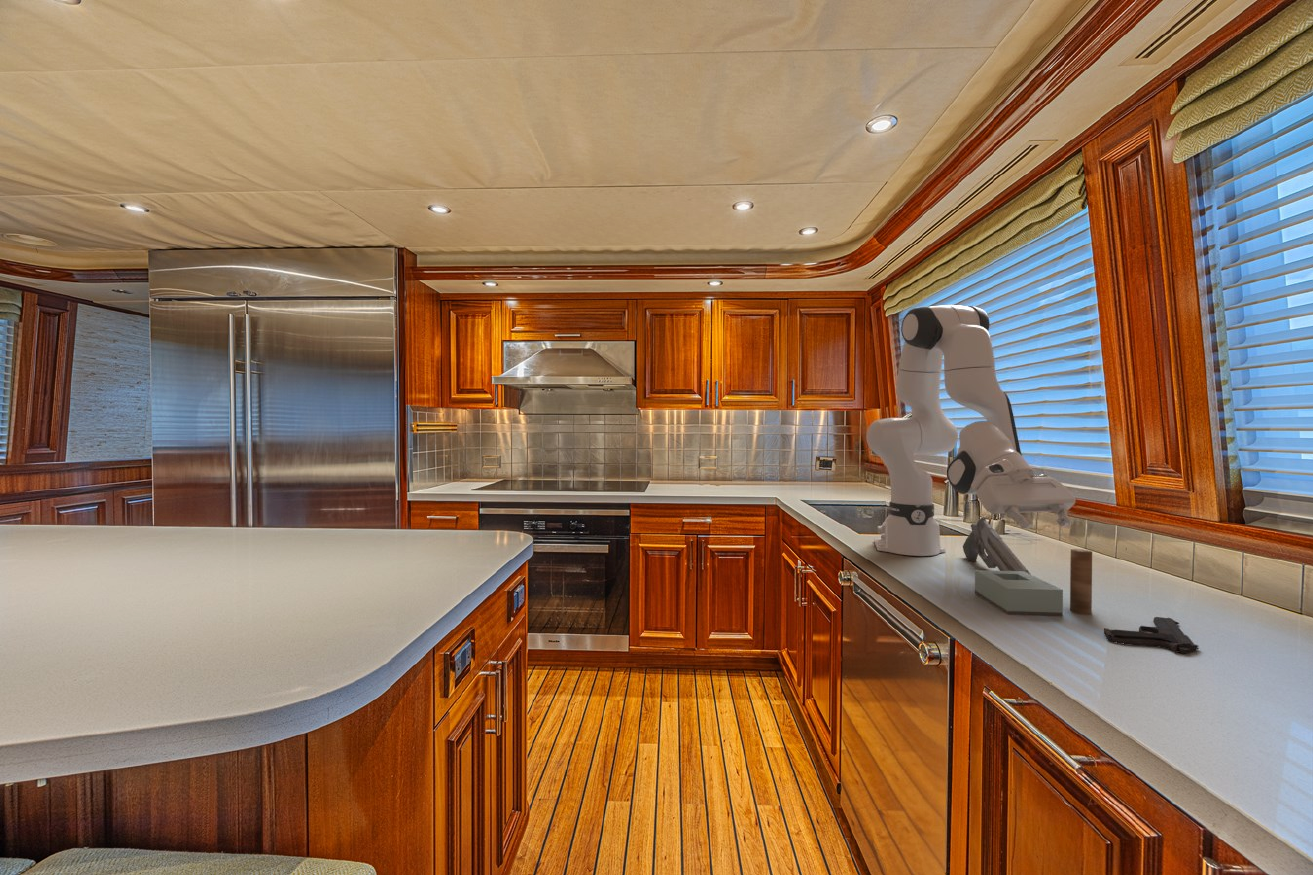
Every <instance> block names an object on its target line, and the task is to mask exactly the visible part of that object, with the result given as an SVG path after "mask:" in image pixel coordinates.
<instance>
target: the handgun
mask: <svg viewBox="0 0 1313 875" xmlns="http://www.w3.org/2000/svg"><path fill="white" fill-rule="evenodd" d="M1152 622H1153V623H1154V625H1155V626H1146V625H1140V626H1139V627H1138V630H1127V629H1126V630H1125V629H1109V628H1106V627H1105V628H1103V635H1104V634H1105V635H1104V636H1105V639H1106V640H1107V639H1108V640H1107V641H1110V640H1111V643H1112V642H1117V643H1116V644H1118V643H1124V644H1123V645H1125V644H1133V645H1132V646H1140V645H1145V646H1144V647H1156V646H1160V647H1159V648H1163V647H1165V648H1164V649H1167V648H1169V649H1168V650H1170V649H1171V650H1170V651H1172V653H1173V652H1175V653H1174V654H1177V653H1181V654H1191V653H1195V652H1196V651H1197V650H1199V649H1200V646H1199V645H1198V644H1195V643H1194V642H1193V640H1192V639H1191V638H1190V636H1188V635H1187V634H1185V633H1184V632H1183V631H1182V630H1181V628H1180V627H1179V625H1180V622H1178V621H1176V620H1174V619H1173V618H1171V617H1161V616H1160V617H1159V616H1155V617H1153V621H1152ZM1177 651H1179V652H1177ZM1176 652H1177V653H1176Z"/></svg>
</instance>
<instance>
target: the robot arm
mask: <svg viewBox="0 0 1313 875" xmlns="http://www.w3.org/2000/svg"><path fill="white" fill-rule="evenodd" d="M900 327H901V328H900V332H901V335H902V336H901V337H902V338H903V340H904V343H903V346H902V349H901V352H900V353H901V354H900V358H899V362H898V363H899V364H898V370H897V371H898V372H897V380H896V389H895V394H896V397H897V398H898V399H899V401H900V402H902V403H904V404H905V405H906V406H908V407H910V410H911V417H888V418H881V419H877V420H873V422H872V423H871V424H870V425H869V426H868V428H867V430H866V438H865V439H866V443H867V445H868V447H869V449H870V450H871V451H872V452H873V453H874V454H876V455H877V456H878V457H879V458H880V459H881V460H882V461H883V463H884V465H885V467H886V469H887V471H888V475H889V482H890V483H889V484H890V501H889V505H888V508H887V509H888V511H887V512H888V516H887V517H886V518H885V520H884V522H882V524H881V525H877V534H881V536H880V537H876V538H874V539H873V540H874V541H873V542H874V544H875V547H876V549H877V550H876V551H879V552H887V553H892V554H897V555H903V556H904V555H905V556H914V557H915V556H916V557H926V556H927V557H930V556H936V555H938V554H941V553H946V548H945V547H942V546H941V534H940V525H939V522H937V521H936V520H935V518H934V516H935V505H934V503H933V478H932V476H931V475H930V473H928V472H927V471H926V470H924V469H923V468H920V467H919V466H918V465H917V464H916V462H915V456H935V455H936V456H937V455H942V454H946V453H950V452H952V451H953V450H954V449H955V447H956V446H957V444H958V440H959V446H958V450H957V453H956V455H955V457H954V458H953V459H952V460H951V462H950V463H949V465H948V466H947V470H946V477H947V479H948V482H949V484H950V486H951V487H952V488H953V489H954V491H956V492H957V493H958V494H960V495H976V497H977V499H978V501H979V502H980V504H981V505H982V507H983V508H984V509H985V510H986V511H987V513H988V512H989V513H990V514H992V515H999V514H1002V515H1003V514H1006V516H1007V517H1008V518H1010V519H1011V520H1012V521H1014V522H1016V523H1018V525H1019V527H1020V528H1021V529H1030V528H1031V527H1033V525H1034V524H1033V521H1031V518H1030V517H1028V516H1027V517H1026V516H1024V515H1023V513H1046V512H1048V513H1051V512H1053V514H1054V515H1057V516H1058V519H1056V523H1057V524H1058V525H1059V527H1061V528H1063V527H1064V528H1065V527H1069V526H1070V525H1071V524H1072V520H1071V519H1070V517H1069V516H1068V511H1069V510H1070V509H1071V508H1072V507H1073V506H1074V505H1075V504H1076V497H1075V495H1074V494H1073V493H1072V492H1071V491H1070V490H1069V489H1068V488H1067V487H1066V486H1065V485H1064V484H1063V483H1062V482H1060V480H1058V479H1057V478H1055V477H1052V476H1048V475H1046V474H1035V471H1034V469H1033V468H1032V467H1031V466H1030V464H1029V463H1028V461H1026V459H1025V457H1024V456H1023V454H1022V451H1021V447H1020V441H1019V437H1018V432H1017V427H1016V422H1015V416H1014V413H1013V412H1014V411H1013V407H1012V404H1011V400H1010V398H1009V396H1008V394H1007V393H1006V392H1005V391H1003V389H1001V387H1000V386H1001V385H999V381H998V379H997V374H996V367H995V366H996V364H995V355H994V354H995V353H994V349H993V343H992V339H991V336H990V333H989V330H990V317H989V315H988V314H987V312H986V311H985V310H984V309H982V308H979V307H977V306H973V305H968V306H966V305H965V306H964V305H956V304H955V305H954V304H953V305H952V304H945V305H936V306H935V305H934V306H925V305H924V306H918V307H914V308H912V309H910V310H908V312H907V313H906V314H905V315H904V317H903V319H902V321H901V326H900ZM943 361H944V362H943ZM943 365H944V366H943ZM942 367H943V369H942ZM942 370H943V373H944V374H943V377H944V378H943V380H944V386H945V388H944V389H945V390H946V394H947V395H948V396H949V397H950V399H952V400H953V402H955V403H956V404H959V405H960V406H962V407H965V408H968V409H970V410H973V411H974V412H977V413H979V414H980V415H981V416H983V418H985V420H980V421H974V422H972V423H969V424H967V425H965V426H964V427H962V429H960V432H958V429H957V427H956V424H954V422H952V420H950V419H949V418H948V417H947V416H946V414H945V413H944V411H943V409H942V405H941V401H940V400H941V399H940V389H941V378H942V377H941V376H942Z"/></svg>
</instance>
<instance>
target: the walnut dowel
mask: <svg viewBox="0 0 1313 875" xmlns="http://www.w3.org/2000/svg"><path fill="white" fill-rule="evenodd" d="M1069 565H1070V566H1069V567H1070V571H1069V573H1070V574H1069V575H1070V579H1069V580H1070V583H1069V584H1070V585H1069V587H1070V588H1069V610H1070V612H1072V613H1075V614H1079V615H1091V614H1092V613H1093V612H1092V611H1093V610H1092V609H1093V604H1092V603H1093V596H1092V595H1093V551H1091V550H1088V549H1081V548H1071V549H1070V564H1069Z"/></svg>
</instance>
